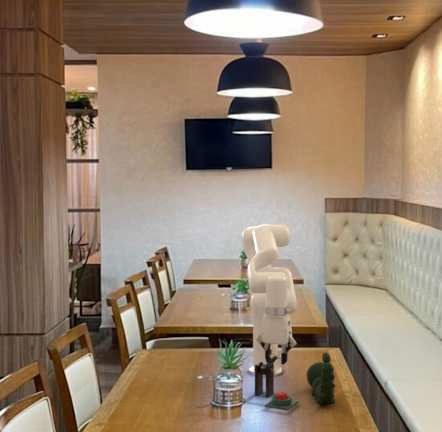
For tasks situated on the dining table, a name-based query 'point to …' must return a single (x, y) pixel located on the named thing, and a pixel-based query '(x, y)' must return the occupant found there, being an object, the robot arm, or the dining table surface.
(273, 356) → the press lever
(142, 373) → the dining table surface
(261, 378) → the lever bracket
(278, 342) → the robot arm
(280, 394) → the button
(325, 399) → the green bumpy upright shape
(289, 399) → the console
